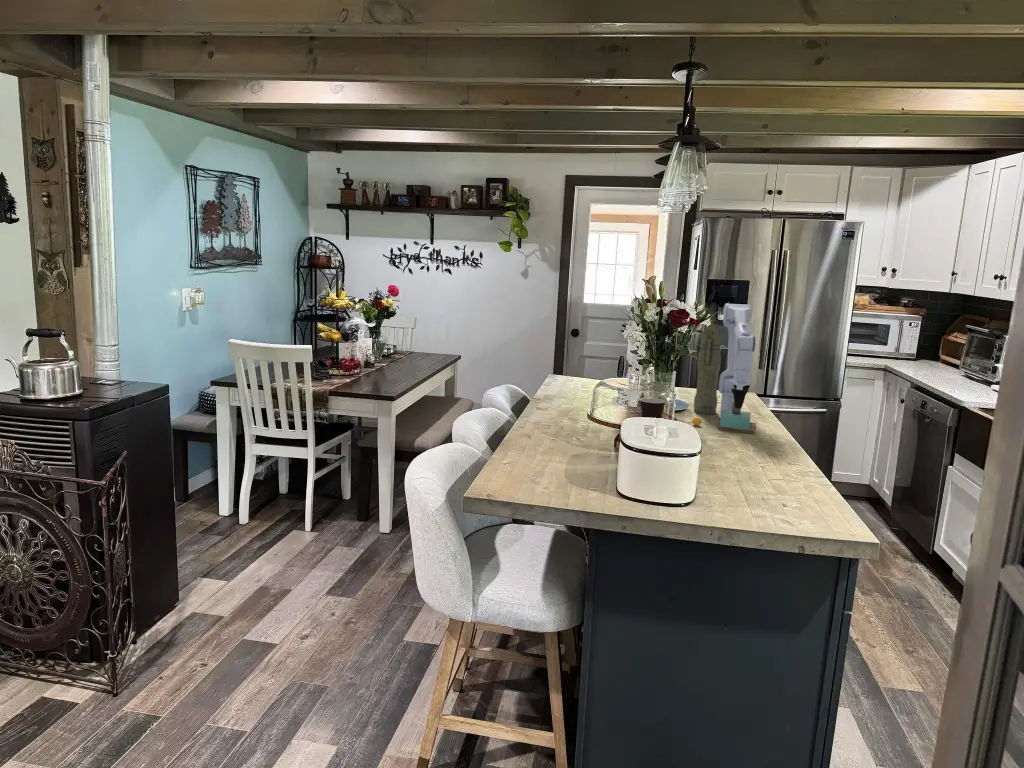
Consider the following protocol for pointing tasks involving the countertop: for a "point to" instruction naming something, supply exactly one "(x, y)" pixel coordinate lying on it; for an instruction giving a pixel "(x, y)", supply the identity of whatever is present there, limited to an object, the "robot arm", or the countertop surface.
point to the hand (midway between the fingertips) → (739, 406)
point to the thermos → (708, 370)
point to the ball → (696, 421)
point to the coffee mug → (652, 407)
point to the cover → (735, 418)
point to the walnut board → (750, 431)
